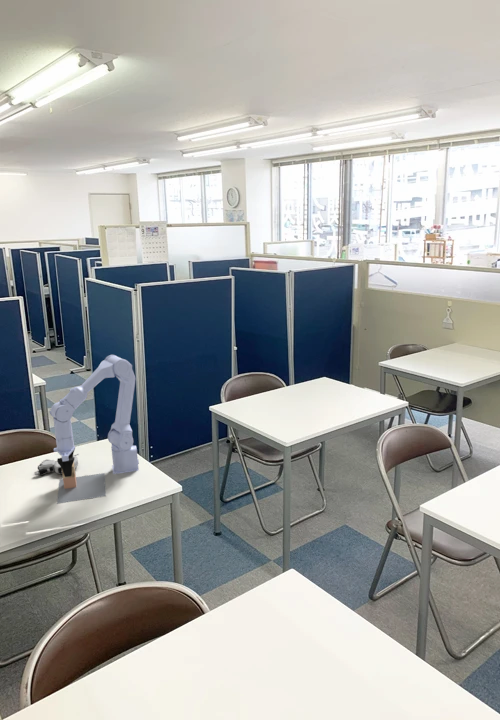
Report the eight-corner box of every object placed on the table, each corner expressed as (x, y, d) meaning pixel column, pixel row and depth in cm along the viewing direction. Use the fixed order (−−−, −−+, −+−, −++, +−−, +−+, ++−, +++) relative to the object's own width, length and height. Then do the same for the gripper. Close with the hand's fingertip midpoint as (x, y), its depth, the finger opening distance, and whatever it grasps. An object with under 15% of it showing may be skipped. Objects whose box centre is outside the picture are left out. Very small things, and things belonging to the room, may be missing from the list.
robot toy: (34, 482, 204) (75, 476, 204) (31, 471, 202) (72, 465, 203) (43, 467, 215) (82, 462, 216) (41, 456, 214) (80, 451, 215)
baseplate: (104, 474, 206) (104, 472, 206) (105, 497, 189) (105, 495, 189) (59, 481, 202) (59, 479, 202) (57, 505, 185) (56, 503, 185)
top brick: (75, 471, 198) (73, 461, 197) (74, 476, 195) (73, 466, 193) (63, 473, 197) (62, 463, 196) (63, 478, 194) (61, 468, 192)
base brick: (76, 481, 199) (75, 471, 198) (76, 487, 196) (74, 476, 195) (64, 483, 198) (63, 473, 197) (64, 488, 195) (63, 478, 194)
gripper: (53, 429, 198) (58, 464, 201) (50, 445, 184) (55, 482, 188) (73, 427, 199) (78, 461, 203) (72, 442, 186) (77, 479, 190)
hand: (68, 471), depth 195 cm, fingers open, 7 cm apart
